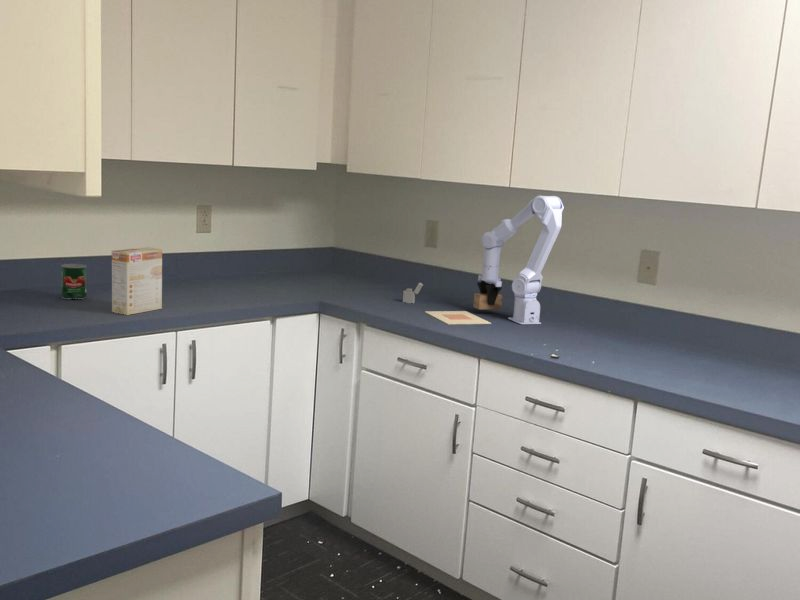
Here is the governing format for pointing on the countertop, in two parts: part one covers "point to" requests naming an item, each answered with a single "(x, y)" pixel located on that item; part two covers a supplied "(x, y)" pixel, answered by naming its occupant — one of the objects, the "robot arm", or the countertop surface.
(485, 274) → the robot arm
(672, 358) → the countertop surface
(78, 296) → the canned tomato
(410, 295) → the lighter
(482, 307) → the walnut block
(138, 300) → the coffeecake box
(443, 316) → the mat
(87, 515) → the countertop surface
